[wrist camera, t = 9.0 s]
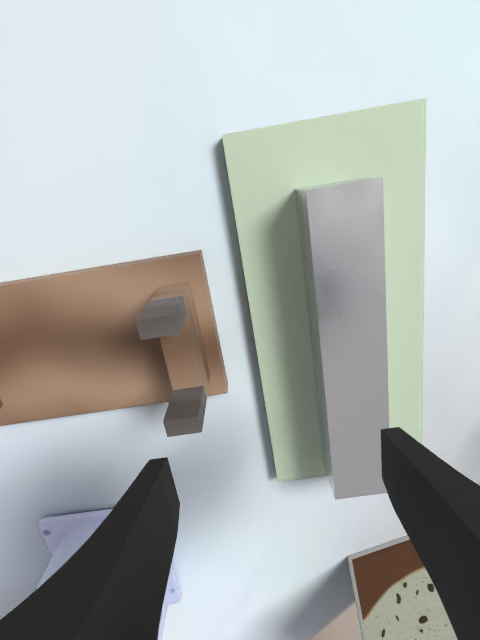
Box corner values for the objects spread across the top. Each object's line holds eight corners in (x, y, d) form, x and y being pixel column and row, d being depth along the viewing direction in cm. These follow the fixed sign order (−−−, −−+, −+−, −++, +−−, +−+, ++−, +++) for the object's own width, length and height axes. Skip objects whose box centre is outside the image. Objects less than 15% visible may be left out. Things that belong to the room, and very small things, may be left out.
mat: (415, 454, 24) (421, 463, 23) (276, 472, 24) (277, 481, 24) (417, 101, 17) (426, 97, 16) (222, 137, 17) (221, 134, 17)
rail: (295, 188, 17) (306, 190, 15) (359, 177, 17) (383, 177, 14) (323, 460, 23) (335, 499, 20) (372, 453, 23) (391, 492, 20)
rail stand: (227, 384, 22) (224, 453, 16) (-15, 419, 23) (-98, 497, 17) (201, 249, 19) (186, 278, 14) (-74, 295, 20) (-196, 339, 14)
